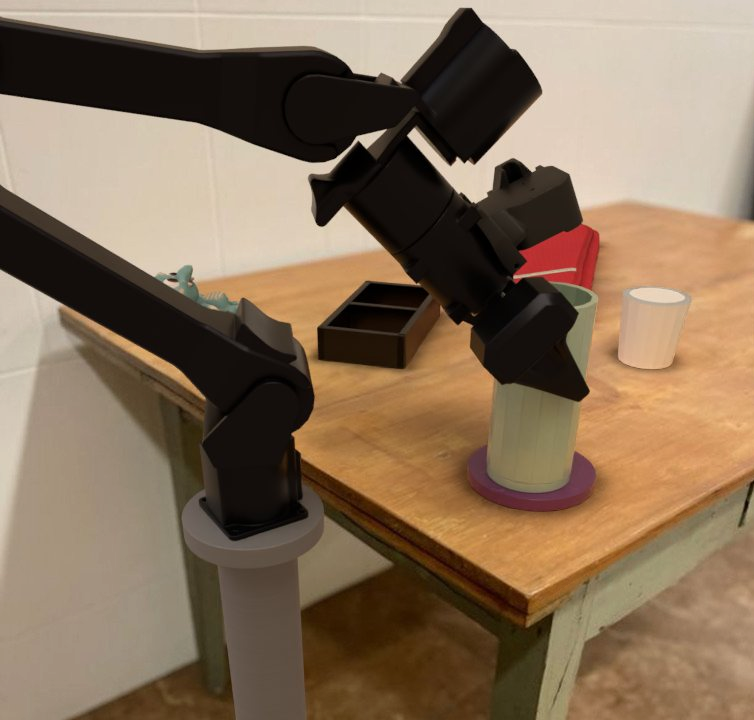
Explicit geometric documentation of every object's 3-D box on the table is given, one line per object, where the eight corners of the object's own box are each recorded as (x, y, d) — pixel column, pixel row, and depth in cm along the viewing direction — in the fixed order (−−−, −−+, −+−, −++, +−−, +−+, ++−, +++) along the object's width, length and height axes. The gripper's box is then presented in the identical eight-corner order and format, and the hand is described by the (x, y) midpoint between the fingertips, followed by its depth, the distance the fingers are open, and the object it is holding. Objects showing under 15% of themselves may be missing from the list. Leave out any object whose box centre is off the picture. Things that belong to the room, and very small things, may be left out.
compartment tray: (403, 369, 84) (404, 336, 82) (317, 359, 86) (316, 327, 84) (440, 315, 99) (441, 286, 97) (365, 308, 101) (365, 280, 99)
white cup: (633, 343, 91) (644, 280, 87) (690, 359, 87) (704, 294, 83) (599, 359, 87) (609, 294, 83) (657, 376, 83) (671, 309, 79)
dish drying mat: (600, 243, 130) (604, 218, 128) (586, 324, 96) (590, 292, 94) (502, 236, 133) (504, 212, 131) (455, 312, 100) (457, 281, 98)
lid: (524, 525, 59) (525, 513, 58) (441, 468, 66) (442, 457, 65) (621, 488, 63) (623, 477, 63) (534, 439, 71) (535, 429, 70)
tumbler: (495, 495, 60) (514, 310, 53) (479, 454, 66) (493, 281, 58) (580, 491, 61) (611, 308, 53) (557, 451, 66) (581, 280, 59)
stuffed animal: (249, 289, 89) (136, 270, 87) (242, 351, 92) (133, 334, 90) (253, 263, 98) (151, 245, 96) (246, 320, 101) (147, 304, 99)
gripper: (565, 143, 43) (713, 336, 50) (475, 106, 58) (598, 257, 66) (413, 298, 46) (574, 458, 53) (366, 223, 61) (495, 355, 69)
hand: (561, 371), depth 60 cm, fingers open, 9 cm apart
